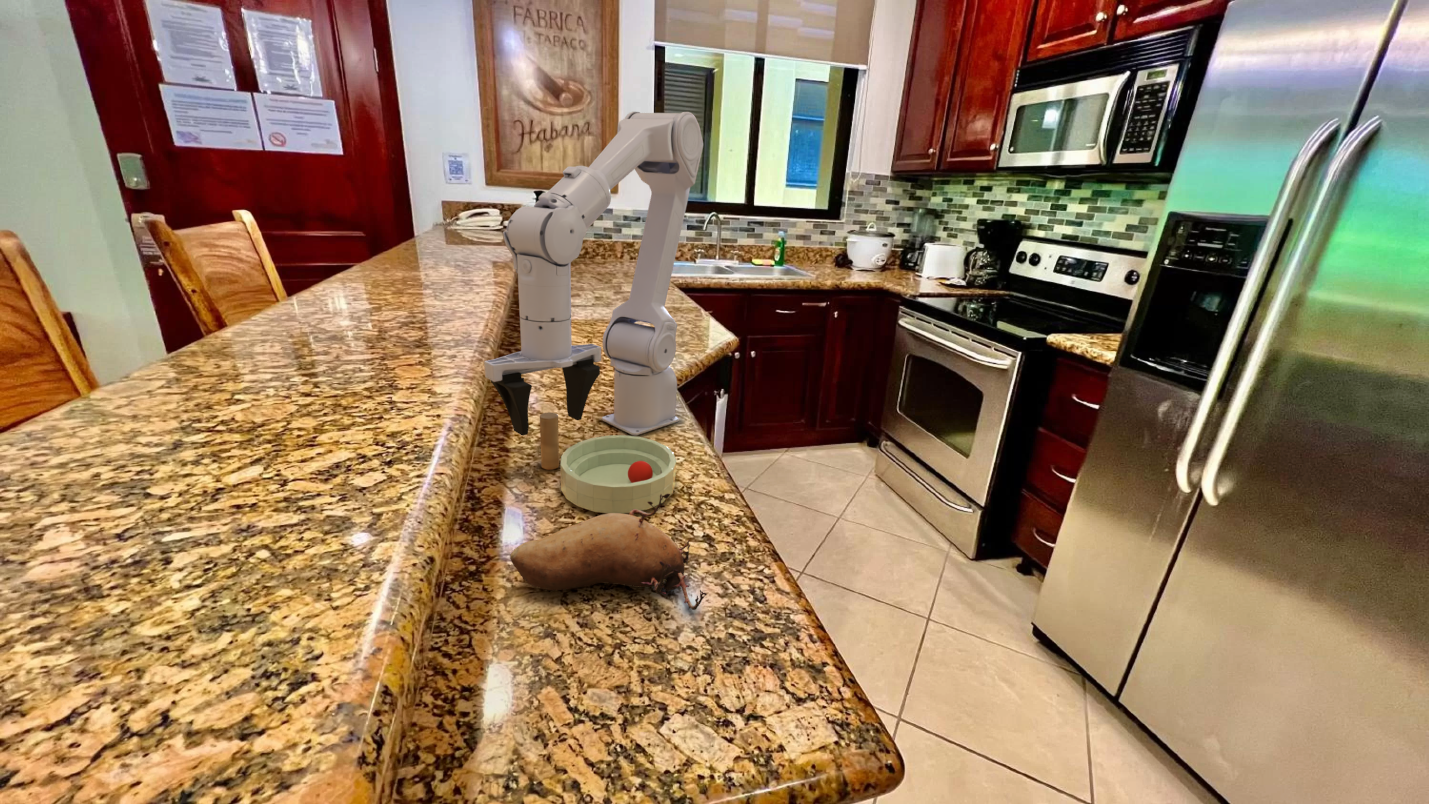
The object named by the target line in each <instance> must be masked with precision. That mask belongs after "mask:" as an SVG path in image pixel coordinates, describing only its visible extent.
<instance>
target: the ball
mask: <svg viewBox="0 0 1429 804" xmlns="http://www.w3.org/2000/svg"><path fill="white" fill-rule="evenodd" d="M652 476H653V470H652V468H651V466H650V465H649V464H648V463H647V462H644V461H637V462H634V463H633V464H632V465H631V466H630V467H629V469H628V478H629V480H630V481H631V483H634V482H639V481H644V480H648V479H651V478H652Z"/></svg>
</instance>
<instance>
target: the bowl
mask: <svg viewBox="0 0 1429 804" xmlns="http://www.w3.org/2000/svg"><path fill="white" fill-rule="evenodd" d="M637 461H644V462H647V463H648V464H649V465H650V466H651V468H652V470H653V476H652V478H651V479H648V480H644V481H639V482H634V483H631V481H630V480H629V478H628V469H629V467H630V466H631V465H632V464H633V463H634V462H637ZM559 467H560V469H559V470H560V490H561V493H562V495H564V497H565V499H566V500H568V501H569V502H570V503H572V504H573V505H575V506H576V507H579V508H581V509H584V510H587V511H591V512H593V513H594V512H595V513H599V514H600V513H602V514H608V513H620V514H630V511H632V510H633V509H637V510H640V511H646V510H649V509H653V507H654V508H655V507H657V506H658V505H659V501H660V495H661V494H662V496H664V495H665V494H670V496H669V497H671V496H672V495H673V492H674V490H675V488H676V475H677V474H676V473H677V459H676V456H675V452H673V451H672V450H671V448H669V447H668V446H667V445H664V444H662V443H661V442H659V441H656V440H654V439H650V438H646V437H643V436H637V435H636V436H634V435H627V434H610V435H609V434H608V435H603V436H602V435H601V436H596V437H591V438H588V439H584V440H581V441H578V442H576V443H575V444H573V445H571V446H569V447H568V448H566V449H565V451H563V453H562V455H561V456H560V462H559ZM662 496H661V498H662ZM665 499H666V498H664V497H663V499H662V500H661V503H663V502H664V500H665ZM666 500H667V499H666ZM666 500H665V501H666ZM648 502H652V503H653V504H652V506H653V507H652V506H651V505H650V504H648ZM664 503H665V502H664ZM664 503H663V504H664Z"/></svg>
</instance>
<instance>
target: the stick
mask: <svg viewBox="0 0 1429 804" xmlns="http://www.w3.org/2000/svg"><path fill="white" fill-rule="evenodd" d="M559 432H560V431H559V414H558V413H556V412H550V411H549V412H542V413H541V414H540V415H539V435H540V436H539V437H540V462H541V468H542V469H544V470H549V471H550V470H556V469H558V468H559V467H560V437H559V435H560V434H559Z"/></svg>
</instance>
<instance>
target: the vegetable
mask: <svg viewBox="0 0 1429 804" xmlns="http://www.w3.org/2000/svg"><path fill="white" fill-rule="evenodd" d="M661 496H662V494H661V495H660V501H659V505H656V507H655V506H654V507H653V506H652V504H653V503H652V502H648V504H650V505H651V506H652V509H653V510H652V511H651V512H645V511H644V510H642V511H640V510H637V509H633V510H632V511H630V513H624V514H620V513H602V514H600V515H599V514H598V515H597V516H594V517H590V518H588V519H586V520H583V521H580V522H578V523H575V524H572V525H570V526H567V527H565V528H563V529H559V530H558V531H556V532H554V533H551V534H549V535H546V536H544V537H542V538H539V539H534V540H528V541H526V542H523V543H521V544H519V545H518V546H516V548H515V549H513V550H512V552H511V553H510V556H509V559H510V561H511V563H512V565H513V567H514V568H515V569H516V570H517V572H518V573H519V575H520V576H521V578H522V580H523V581H525V582H526V583H527V584H529V585H531V587H535V588H538V589H542V590H546V591H548V592H549V591H565V590H572V589H576V588H583V587H592V586H593V585H594V586H595V585H597V584H609V585H621V586H629V587H634V588H649V587H654V588H653V590H652V591H655V593H660V594H664V595H666V594H667V593H666V592H664V591H662V588H663V589H664V590H665V591H667V592H670V591H675V590H676V589H679V588H680V587H681V590H682V594H683V598H684V601H683V604H687V606H688V610H692V611H696V610H697V609H698V608H699V607H700V605H701V603H702V601H703V599H704V598H705V597H706V596H707V595H708V594H707V593H706V592H703V591H702V590H701V589H699V592H700V593H699V595H698V594H697V595H696V598H695V599H694V601H695V604H694V605H693V604H692V602H691V601H690V598H689V596H688V593H687V588H689V587H690V585H689V584H686V582H685V578H686V577H688V574H685V565H687V566H688V564H689V560H690V559H689V555H690V552H691V551H690V547H691V544H689V543H690V539H688V540H687V542H686V540H685V541H683V542H684V545H683V546H682V547H678V545H677V543H676V542H675V541H674V540H673V539H672V538H671V537H670V536H669V535H668V534H667V533H666V532H664V531H663V530H662V529H660V528H659V527H656V526H654V525H653V524H651V523H650V522H648V521H647V520H645V518H647V517H652V516H654V515H655V514H656V513H657V512H658V511H659V509H660V508H661V506H663V505H664V503H665V502H666V501H667V499H669V498H670V497H671V496H670V494H665V495H664V496H662V498H661ZM663 497H664V498H666V499H665V500H664V502H663V503H661V500H662V499H663ZM635 514H639V515H641V517H639V516H636V515H635ZM684 549H686V550H687V551H684ZM683 554H684V555H685V557H684V556H683ZM699 598H700V599H699Z"/></svg>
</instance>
